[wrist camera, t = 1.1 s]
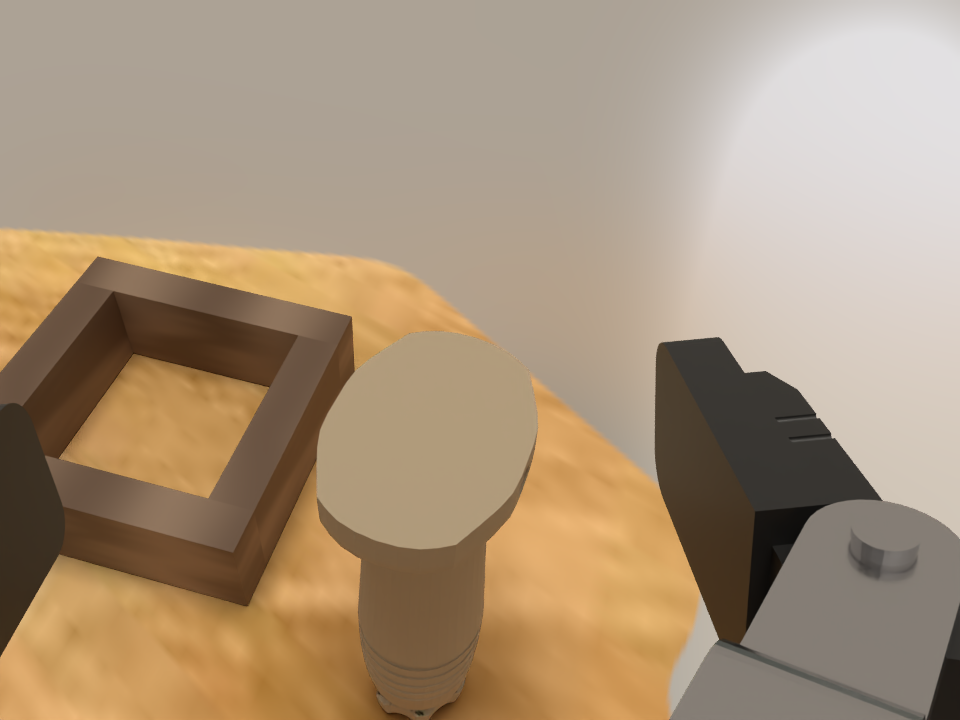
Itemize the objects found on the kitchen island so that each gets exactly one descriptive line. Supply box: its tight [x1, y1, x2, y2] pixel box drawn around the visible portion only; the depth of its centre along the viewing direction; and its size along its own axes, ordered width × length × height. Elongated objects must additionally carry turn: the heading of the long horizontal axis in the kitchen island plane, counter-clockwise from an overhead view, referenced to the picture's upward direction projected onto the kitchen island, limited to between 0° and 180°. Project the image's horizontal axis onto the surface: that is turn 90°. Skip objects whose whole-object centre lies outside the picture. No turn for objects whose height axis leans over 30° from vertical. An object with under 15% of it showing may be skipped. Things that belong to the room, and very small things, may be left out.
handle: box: [317, 331, 538, 720], centre depth 26 cm, size 5×6×15 cm
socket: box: [0, 257, 355, 606], centre depth 37 cm, size 12×12×4 cm
